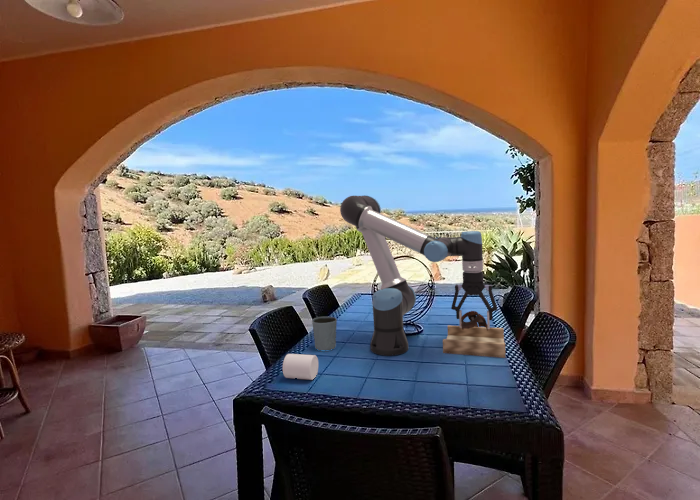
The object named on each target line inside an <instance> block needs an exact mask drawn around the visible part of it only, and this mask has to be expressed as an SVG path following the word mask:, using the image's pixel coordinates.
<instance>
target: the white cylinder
mask: <svg viewBox="0 0 700 500" xmlns="http://www.w3.org/2000/svg"><path fill="white" fill-rule="evenodd" d="M282 373H283V374H282V375H283V377H284V378H285V379H295V378H297V380H310V381H313V379H314V378H315V377H317V376H318V373H319V358H318V357H317V355H316V354H302V353H301V354H299V353H287V354H286V355H285V356H284V359H283V361H282ZM316 375H317V376H316ZM315 379H316V378H315ZM315 379H314V380H315Z"/></svg>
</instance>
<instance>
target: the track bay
mask: <svg viewBox="0 0 700 500" xmlns="http://www.w3.org/2000/svg"><path fill="white" fill-rule="evenodd" d="M504 330H505V328H504V327H490V329H488V331H487V328H486V327H479V326H478V327H473V328H469V329H465V328H464V330H463V329H462V328H460V325H450V324H447V337H446V338H443V339H442V353H443V354H449V355H450V354H451V355H452V354H453V355H463V356H477V357H486V358H487V357H489V358H501V359H502V358H503V359H504V358H505V359H506V342H505V336H504V335H505V333H504V332H505V331H504Z"/></svg>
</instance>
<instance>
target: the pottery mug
mask: <svg viewBox="0 0 700 500" xmlns="http://www.w3.org/2000/svg"><path fill="white" fill-rule="evenodd" d="M466 318H468V320H469V321H465V319H466ZM461 320H462V321H461V322H462V323H461V327H462V329H463V330H464V328H465V329H469V328H473V327H486V328H487V331H488V326H487V319H486V318H485V317H484V315H482V314H481V313H479V312H477V311H475V310H470V311H467V312H465V313H464V314H462V317H461Z"/></svg>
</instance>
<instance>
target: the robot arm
mask: <svg viewBox="0 0 700 500" xmlns="http://www.w3.org/2000/svg"><path fill="white" fill-rule="evenodd" d="M381 211H382V210H381V204H380V203H379V201H378V200H377V199H376V198H374V197H372V196H370V195H349V196H348V197H346V198H345V199H344V200H343V201H342V202H341V204H340V207H339V212H340V216H341V217H342V219H343V220H344V221H345V222H347V223H348V224H350V225H352V226H355V228H356V231H357V232H360V233H361V234H362V237H363V239H364V242H365V244H366V247H367V249H368V251H369V254H370V257H371V259H372V262H373V264H374V267H375V269H376V271H377V274H378V277H379V279H380V282H381V286H380V289H378V290H377V291H375V292H374V293H373V295H372V301H371V304H372V315H373V333H372V335H371V336H372V338H371V339H370V351H371V352H372V353H374V354H376V355H379V356H387V357H388V356H389V357H390V356H398V355H402V354H405V353H407V352H408V350H409V349H410V348H409V341H408V339H407V338H408V337H407V336H406V333H405V330H404V315H406V314H408V313H409V312H410V311H411V310H412V309H413V308H414V306H415V304H416V301H417V295H416V294H417V293H416V292H415V290H414V289H413V288H412V286H410V285H408V282H407V279H406V278H404V277H402V276H401V274H400V271H399V269H398V266H397V264H396V262H395V259H394V257H393V254H392V252H391V249H390V247H389V244H388V241H387V239H388V240H390V241H393V242H395V243H397V244H399V245H401V246H403V247H405V248H407V249H409V250H412V251H414V252H416V253H419V254H420V255H423V256H424V257H425V259H426V260H428V261H429V262H431V263H438V262H441V261H443V260H445V259H446V258H448V257H461V260H462V262H461V264H462V271H463V272H462V284H455V286H454V291H455V292H454V295H453V300H452V304H451V308H450V309H451V310H453V311H455V316H456V317H455V318H456V320H459V326H460V328H462V327H461V323H462V322H461V321H462V320H461V317H462V316H463V313H462V311H463V310H462V309H461V307H462V306H463V304H464V303H465V301H466V300H467V297H468V296H479V298H480V300H481V301H482V302H483V304H484V306H485V307H486V309H487V310H486V317H487V319H486V323H487V326H488V329H490V328H491V326H490V325H491V324H490V321H493V317H494V316H493V312H497V311H498V305H497V302H496V299H495V297H494V293H493V285H492V284H485V283H484V271H483V270H484V265H483V264H484V260H483V259H484V258H483V240H482V238H483V237H482V233H481V232H480V231H478V230H470V231H469V230H468V231H462V232H461V233H460V234H461V235H460V236H454V237H453V236H452V237H450V236H449V237H448V236H447V237H442V236H439V237H434V236H431V235H429V234H427V233H424V232H422V231H420V230H418V229H416V228H413V227H411V226H408V225H407V224H405V223H402V222H401V221H398V220H396V219H393V218H391V217H389V216H386V215H384V214H383V213H381ZM461 289H463V291H464V293H463V296H462V297H461V299H460V300H459V303H458V305H457V300H458V297H459V291H461ZM484 289H485V290H486V291H487V292H488V295H489V298H490V302H491V303H492V306H491V304H490V303H489V301H488V300H487V298H486V296H485V294H484V292H483V291H484ZM456 305H457V306H456Z"/></svg>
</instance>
